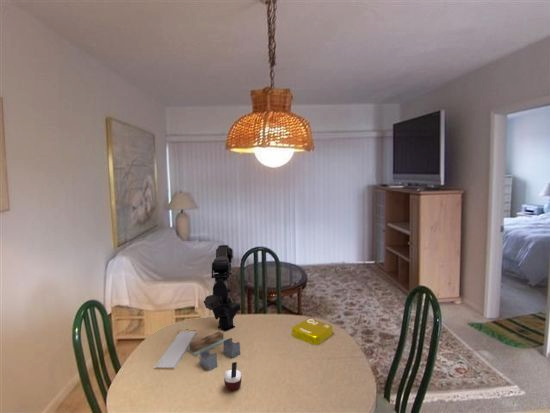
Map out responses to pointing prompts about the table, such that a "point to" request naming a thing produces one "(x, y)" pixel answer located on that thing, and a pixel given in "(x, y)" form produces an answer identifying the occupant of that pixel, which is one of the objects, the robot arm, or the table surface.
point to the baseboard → (175, 350)
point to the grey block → (231, 348)
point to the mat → (207, 347)
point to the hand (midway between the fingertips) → (223, 321)
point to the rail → (206, 341)
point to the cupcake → (232, 377)
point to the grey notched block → (208, 359)
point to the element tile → (312, 331)
